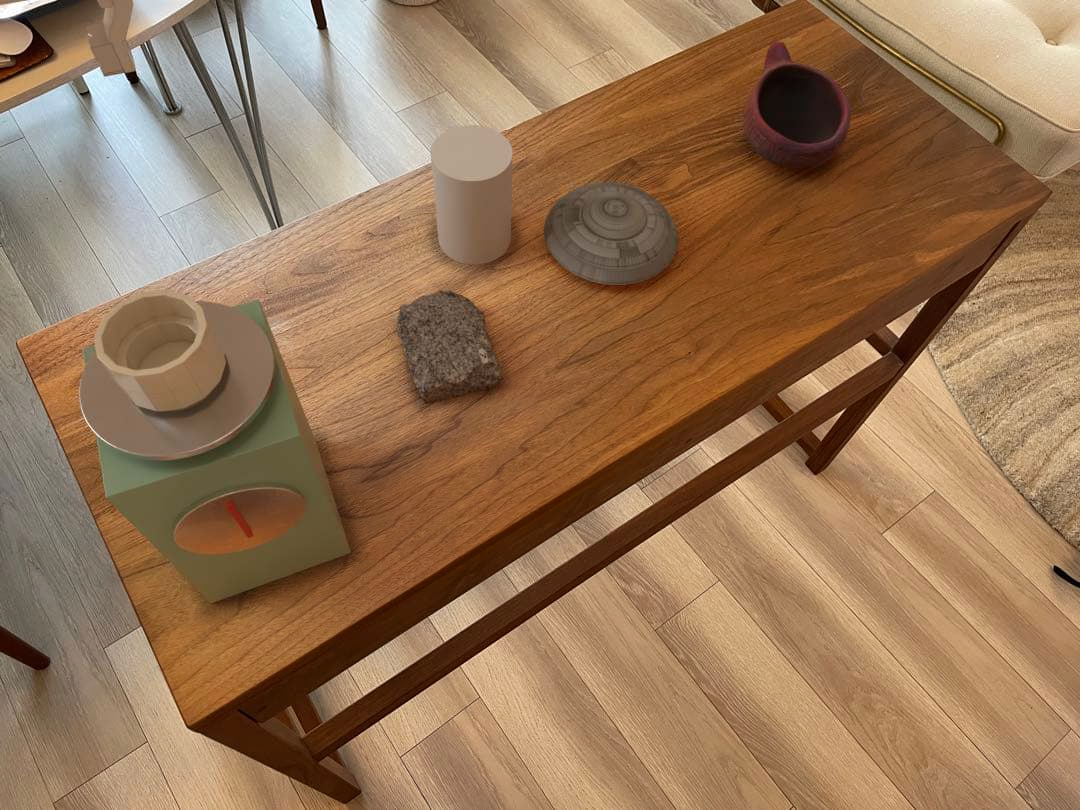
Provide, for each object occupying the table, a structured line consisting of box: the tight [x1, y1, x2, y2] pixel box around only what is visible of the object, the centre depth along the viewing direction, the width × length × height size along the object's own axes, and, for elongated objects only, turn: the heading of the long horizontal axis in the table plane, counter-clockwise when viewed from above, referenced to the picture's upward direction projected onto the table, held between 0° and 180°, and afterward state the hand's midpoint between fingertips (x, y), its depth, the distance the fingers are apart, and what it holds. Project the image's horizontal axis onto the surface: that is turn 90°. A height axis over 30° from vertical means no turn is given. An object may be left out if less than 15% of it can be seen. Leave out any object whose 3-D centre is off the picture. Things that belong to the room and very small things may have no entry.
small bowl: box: [93, 289, 226, 412], centre depth 49 cm, size 6×6×4 cm
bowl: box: [742, 40, 852, 169], centre depth 97 cm, size 16×13×8 cm
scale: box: [78, 299, 352, 604], centre depth 61 cm, size 12×13×23 cm
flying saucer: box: [543, 181, 679, 286], centre depth 88 cm, size 15×15×6 cm
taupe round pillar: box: [430, 124, 514, 266], centre depth 84 cm, size 8×8×12 cm
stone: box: [396, 289, 502, 404], centre depth 79 cm, size 12×9×4 cm
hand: (15, 87), depth 38 cm, fingers open, 8 cm apart
